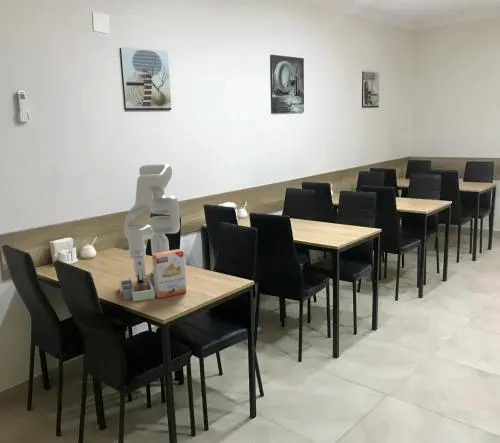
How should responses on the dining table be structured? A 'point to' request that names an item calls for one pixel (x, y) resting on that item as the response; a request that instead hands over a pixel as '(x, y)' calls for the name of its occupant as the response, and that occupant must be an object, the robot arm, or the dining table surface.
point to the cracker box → (169, 273)
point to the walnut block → (141, 286)
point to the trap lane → (129, 293)
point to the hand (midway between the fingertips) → (141, 289)
